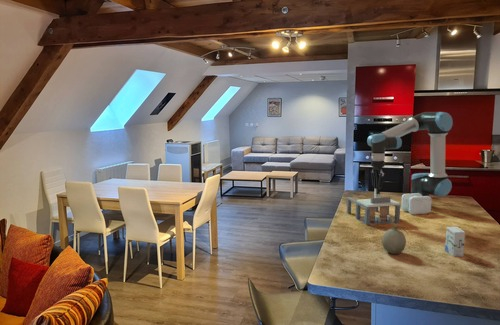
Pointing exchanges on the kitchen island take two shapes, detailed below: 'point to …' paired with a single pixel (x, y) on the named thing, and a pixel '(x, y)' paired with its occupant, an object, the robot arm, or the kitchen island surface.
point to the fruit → (394, 240)
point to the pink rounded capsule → (383, 213)
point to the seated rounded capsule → (372, 214)
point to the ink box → (455, 241)
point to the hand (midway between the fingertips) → (376, 198)
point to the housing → (367, 213)
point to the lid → (378, 202)
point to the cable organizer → (416, 203)
